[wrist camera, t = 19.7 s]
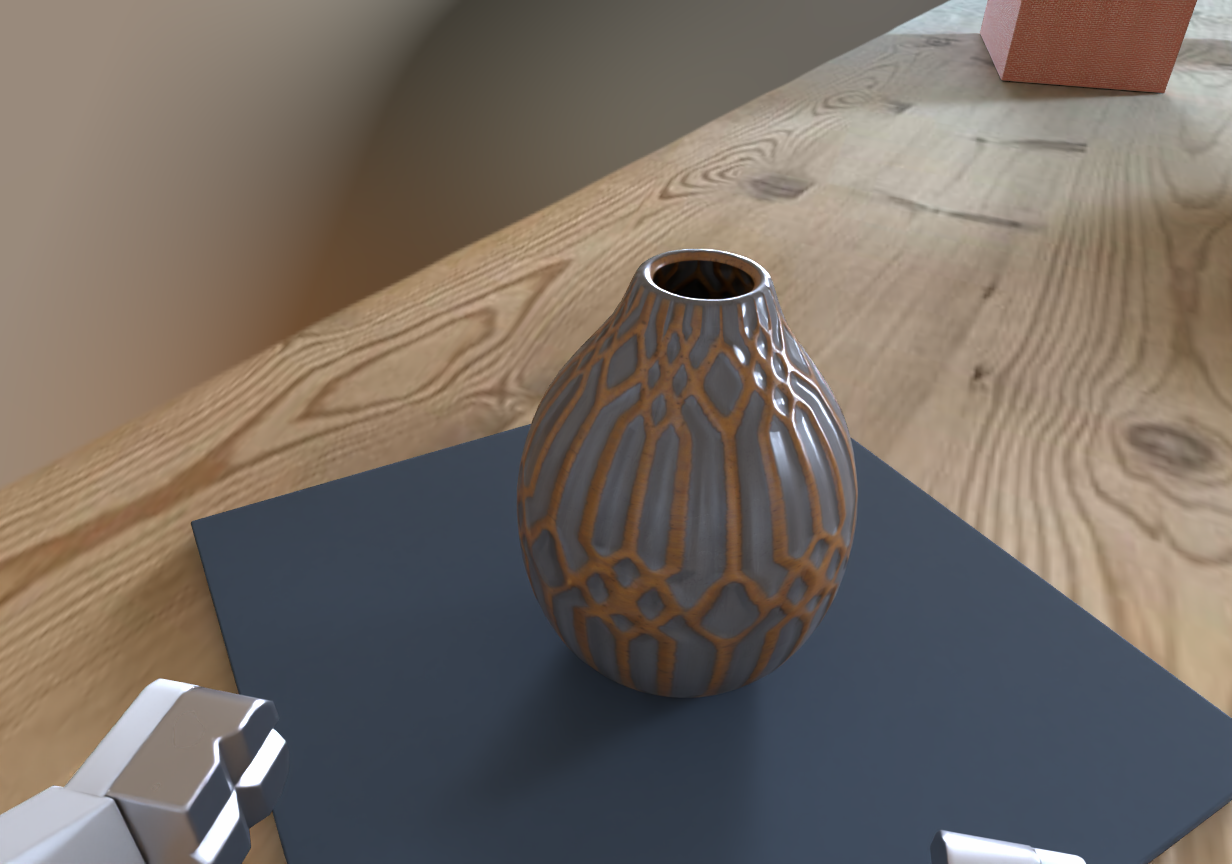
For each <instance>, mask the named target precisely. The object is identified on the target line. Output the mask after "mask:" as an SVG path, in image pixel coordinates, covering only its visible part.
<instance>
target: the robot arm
mask: <svg viewBox="0 0 1232 864" xmlns="http://www.w3.org/2000/svg"><path fill="white" fill-rule="evenodd" d="M278 719H279V716H278V714H277V711H276V708H275V705H274V703H273V701H268V700H264V699H259V698H254V697H249V696H244V695H239V694H234V693H229V692H224V691H219V690H214V689H209V688H204V687H200V686H198V685H192V684H187V683H182V682H176V681H171V680H166V679H161V678H159V679H157V680H156V681H154V682H153V683H151V684H150V685H148V686H147V687H145V688H144V689H143V690H142V692H141V693H140V694H139V695H138V697H137V698H136V699H135V700H134V701H133V703H132V704H131V705H130V706H129V708H128V709H127V710H126V711H125V713H124V714H123V715H122V716H121V717H120V719H119V720H118V721H117V722H116V724H115V725H114V726H113V727H112V729H111V730H110V731H109V732H108V734H107V735H106V736H105V737H104V738H103V740H102V741H101V742H100V743H99V745H98V746H97V747H96V748H95V750H94V751H93V752H92V753H91V754H90V756H89V757H88V758H87V759H86V761H85V762H84V763H83V764H82V766H81V767H80V768H79V769H78V771H77V772H76V773H75V774H74V775H73V777H72V778H71V779H70V780H69V782H68V783H67V784H66V785H65V787H60V786H54V785H53V786H51V787H49V788H48V789H46V790H44V791H42V792H41V793H39V794H37V795H35V796H33V797H32V798H30V799H28V800H26V801H25V802H23V803H21V804H19V805H17V806H16V807H14V808H12V809H10V810H9V811H7V812H5V813H3V814H1V815H0V864H242V862H243V860H244V859H245V857H246V855H247V854H248V852H249V850H250V848H251V843H250V833H249V828H251V827H252V826H254V825H255V824H257V823H258V822H260V821H261V820H263V819H264V818H266V817H267V816H269V815H270V814H271V812H272V810H273V808H274V806H275V804H276V803H277V801H278V799H279V797H280V795H281V794H282V790H283V787H284V784H285V781H286V777H287V774H288V771H289V751H288V747H287V743H286V741H285V740H284V739H283V738H282V737H281V736H280V735H279V734H278V733H277V732H276V731H275V730H274V729H273V728H274V726H275V724H276V723H277V721H278ZM930 851H931V864H1086V863H1085V861H1084V860H1083V859H1082V858H1080V857H1079V856H1077V855H1071V854H1065V853H1060V852H1054V851H1048V850H1043V849H1037V848H1032V847H1030V846H1028V845H1023V844H1017V843H1011V842H1006V841H1000V840H994V839H989V838H983V837H977V836H972V835H966V834H960V833H955V832H949V831H943V830H940V831H939V832H937V833H936V834H935V836H934V838H933V841H932V843H931V846H930Z"/></svg>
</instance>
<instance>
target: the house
mask: <svg viewBox="0 0 1232 864" xmlns="http://www.w3.org/2000/svg"><path fill="white" fill-rule="evenodd" d="M1196 2H1197V0H988V1H987V5H986V10H985V14H984V18H983V22H982V27H981V31H980V34H981V36H982V39H983V41H984V43H985V45H986V47H987V50H988V52H989V54H990V56H991V58H992V61H993V63H994V65H995V67H996V69H997V72H998V74H999V76H1000V78H1001V80H1004V81H1016V82H1029V83H1042V84H1055V85H1067V86H1080V87H1093V88H1105V89H1118V90H1131V91H1143V92H1156V93H1164V92H1165V89H1166V86H1167V84H1168V81H1169V78H1170V75H1171V72H1172V70H1173V67H1174V64H1175V61H1176V58H1177V55H1178V53H1179V50H1180V47H1181V44H1182V41H1183V39H1184V36H1185V33H1186V30H1187V27H1188V24H1189V22H1190V19H1191V16H1192V13H1193V10H1194V7H1195V5H1196Z"/></svg>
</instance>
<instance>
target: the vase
mask: <svg viewBox="0 0 1232 864" xmlns="http://www.w3.org/2000/svg"><path fill="white" fill-rule="evenodd" d="M857 506H858V488H857V474H856V466H855V459H854V452H853V447H852V443H851V438H850V434H849V430H848V427H847V424H846V421H845V418H844V415H843V413H842V410H841V408H840V406H839V404H838V402H837V400H836V398H835V396H834V394H833V392H832V390H831V389H830V387H829V385H828V384H827V382H826V381H825V379H824V377H823V376H822V374H821V373H820V371H819V370H818V368H817V367H816V365H815V364H814V363H813V361H812V360H811V358H810V357H809V355H808V354H807V352H806V351H805V349H804V348H803V347H802V345H801V344H800V342H799V341H798V340H797V338H796V337H795V335H794V334H793V332H792V331H791V329H790V328H789V326H788V324H787V322H786V320H785V317H784V315H783V313H782V310H781V307H780V304H779V301H778V298H777V294H776V291H775V288H774V285H773V282H772V279H771V277H770V275H769V274H768V273H767V271H766V270H765V269H764V268H762V267H761V266H760V265H758V264H757V263H755V262H753V261H751V260H749V259H747V258H744V257H742V256H739V255H736V254H732V253H728V252H723V251H717V250H708V249H684V250H675V251H670V252H666V253H662V254H659V255H656V256H654V257H652V258H650V259H648V260H646V261H645V262H644V263H642V264H641V265H640V267H639V268H638V269H637V271H636V273H635V274H634V276H633V278H632V280H631V282H630V285H629V287H628V289H627V291H626V293H625V295H624V296H623V298H622V300H621V302H620V303H619V305H618V306H617V308H616V309H615V311H614V312H613V314H612V315H611V316H610V317H609V318H608V319H607V320H606V321H605V322H604V323H603V324H602V325H601V326H600V327H599V328H598V330H597V331H596V332H595V333H594V334H593V335H592V336H591V337H590V338H589V339H588V340H587V341H586V342H585V343H584V344H583V345H582V346H581V348H580V349H579V350H578V351H577V352H576V353H575V354H574V355H573V356H572V357H571V358H570V360H569V361H568V362H567V363H566V364H565V365H564V366H563V368H562V369H561V370H560V371H559V373H558V374H557V375H556V377H555V378H554V380H553V381H552V383H551V384H550V385H549V387H548V389H547V390H546V392H545V394H544V396H543V398H542V400H541V402H540V404H539V406H538V408H537V411H536V413H535V416H534V418H533V421H532V423H531V426H530V429H529V432H528V435H527V439H526V442H525V446H524V450H523V454H522V458H521V462H520V469H519V476H518V484H517V520H518V531H519V539H520V546H521V552H522V557H523V562H524V566H525V570H526V573H527V575H528V578H529V581H530V584H531V587H532V590H533V592H534V595H535V597H536V599H537V601H538V603H539V605H540V607H541V609H542V611H543V613H544V615H545V617H546V618H547V620H548V621H549V623H550V625H551V626H552V627H553V629H554V630H555V631H556V633H557V634H558V635H559V637H560V638H561V639H562V641H563V642H564V643H565V644H566V646H567V647H568V648H569V649H570V650H571V651H572V652H573V653H574V654H575V655H576V656H577V657H579V658H580V659H581V660H582V661H584V662H585V663H586V664H588V665H589V666H591V667H592V668H594V669H595V670H596V671H598V672H599V673H601V674H602V675H604V676H606V677H608V678H609V679H611V680H613V681H615V682H617V683H619V684H621V685H624V686H626V687H629V688H631V689H634V690H637V691H641V692H645V693H648V694H653V695H659V696H666V697H677V698H693V697H705V696H712V695H717V694H721V693H725V692H729V691H732V690H735V689H738V688H740V687H743V686H745V685H748V684H750V683H752V682H755V681H757V680H759V679H761V678H763V677H765V676H767V675H768V674H770V673H771V672H773V671H774V670H776V669H777V668H778V667H780V666H781V665H782V664H783V663H784V662H786V661H787V660H788V659H789V658H790V657H791V656H792V655H793V654H794V653H795V652H796V651H798V650H799V649H800V648H801V647H802V645H803V644H804V643H805V642H806V641H807V639H808V638H809V637H810V636H811V634H812V633H813V632H814V630H815V629H816V628H817V626H818V625H819V624H820V622H821V621H822V619H823V618H824V616H825V614H826V612H827V611H828V609H829V607H830V605H831V604H832V602H833V600H834V598H835V596H836V594H837V591H838V589H839V586H840V584H841V581H842V578H843V575H844V573H845V570H846V566H847V563H848V559H849V555H850V551H851V548H852V544H853V539H854V533H855V527H856V521H857Z"/></svg>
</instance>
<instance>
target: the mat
mask: <svg viewBox="0 0 1232 864" xmlns="http://www.w3.org/2000/svg"><path fill="white" fill-rule="evenodd" d="M530 426H531V424H529V425H525V426H522V427H518V428H515V429H511V430H508V431H504V432H501V433H497V434H494V435H491V436H487V437H484V438H480V439H477V440H473V441H470V442H466V443H463V444H459V445H456V446H452V447H449V448H445V449H442V450H438V451H435V452H431V453H428V454H424V455H421V456H417V457H414V458H411V459H407V460H404V461H400V462H397V463H393V464H390V465H386V466H383V467H379V468H376V469H372V470H369V471H365V472H362V473H358V474H355V475H351V476H348V477H344V478H341V479H337V480H334V481H330V482H327V483H324V484H320V485H317V486H313V487H310V488H306V489H303V490H299V491H296V492H292V493H289V494H285V495H282V496H278V497H275V498H271V499H268V500H264V501H261V502H257V503H254V504H250V505H247V506H244V507H240V508H237V509H233V510H230V511H226V512H223V513H219V514H216V515H212V516H209V517H205V518H202V519H198V520H195V521H192V522H191V526H192V529H193V533H194V537H195V540H196V544H197V547H198V551H199V554H200V558H201V561H202V565H203V568H204V572H205V575H206V579H207V583H208V586H209V590H210V593H211V597H212V600H213V604H214V607H215V611H216V614H217V618H218V621H219V625H220V629H221V632H222V636H223V639H224V643H225V646H226V650H227V653H228V657H229V660H230V664H231V667H232V671H233V674H234V678H235V682H236V685H237V689H238V692H239V695H244V696H249V697H254V698H259V699H264V700H268V701H273V703H274V705H275V708H276V711H277V714H278V716H279V719H278V721H277V723H276V724H275V726H274V728H273V729H274V730H275V731H276V732H277V733H278V734H279V735H280V736H281V737H282V738H283V739H284V740H285V741H286V743H287V747H288V751H289V771H288V774H287V777H286V781H285V784H284V787H283V790H282V794H281V795H280V797H279V799H278V801H277V803H276V804H275V806H274V808H273V810H272V812H273V816H274V819H275V823H276V827H277V830H278V834H279V837H280V841H281V844H282V848H283V851H284V855H285V858H286V862H287V864H931V851H930V846H931V843H932V841H933V838H934V836H935V834H936V833H937V832H939V831H940V830H943V831H949V832H955V833H960V834H966V835H972V836H977V837H983V838H989V839H994V840H1000V841H1006V842H1011V843H1017V844H1023V845H1028V846H1030V847H1032V848H1037V849H1043V850H1048V851H1054V852H1060V853H1065V854H1071V855H1077V856H1079V857H1080V858H1082V859H1083V860H1084V861H1085V863H1086V864H1148V863H1150V862H1151V861H1152V860H1153V859H1155V858H1156V857H1157V856H1159V855H1160V854H1161V853H1163V852H1164V851H1165V850H1167V849H1168V848H1169V847H1171V846H1172V845H1173V844H1175V843H1176V842H1177V841H1179V840H1180V839H1181V838H1183V837H1184V836H1185V835H1186V834H1188V833H1189V832H1190V831H1192V830H1193V829H1194V828H1196V827H1197V826H1198V825H1200V824H1201V823H1202V822H1204V821H1205V820H1206V819H1208V818H1209V817H1210V816H1212V815H1213V814H1214V813H1216V812H1217V811H1218V810H1219V809H1221V808H1222V807H1223V806H1225V805H1226V804H1227V803H1229V802H1230V801H1231V800H1232V718H1230V717H1229V716H1228V715H1226V714H1225V713H1224V712H1222V711H1221V710H1220V709H1218V708H1217V707H1216V706H1214V705H1213V704H1211V703H1210V702H1209V701H1207V700H1206V699H1205V698H1203V697H1202V696H1201V695H1199V694H1198V693H1197V692H1195V691H1194V690H1193V689H1191V688H1190V687H1188V686H1187V685H1186V684H1184V683H1183V682H1182V681H1180V680H1179V679H1178V678H1176V677H1175V676H1174V675H1172V674H1171V673H1169V672H1168V671H1167V670H1165V669H1164V668H1163V667H1161V666H1160V665H1159V664H1157V663H1156V662H1155V661H1153V660H1152V659H1150V658H1149V657H1148V656H1146V655H1145V654H1144V653H1142V652H1141V651H1140V650H1138V649H1137V648H1136V647H1134V646H1133V645H1132V644H1130V643H1129V642H1127V641H1126V640H1125V639H1123V638H1122V637H1121V636H1119V635H1118V634H1117V633H1115V632H1114V631H1113V630H1111V629H1110V628H1108V627H1107V626H1106V625H1104V624H1103V623H1102V622H1100V621H1099V620H1098V619H1096V618H1095V617H1094V616H1092V615H1091V614H1089V613H1088V612H1087V611H1085V610H1084V609H1083V608H1081V607H1080V606H1079V605H1077V604H1076V603H1075V602H1073V601H1072V600H1071V599H1069V598H1068V597H1066V596H1065V595H1064V594H1062V593H1061V592H1060V591H1058V590H1057V589H1056V588H1054V587H1053V586H1052V585H1050V584H1049V583H1047V582H1046V581H1045V580H1043V579H1042V578H1041V577H1039V576H1038V575H1037V574H1035V573H1034V572H1033V571H1031V570H1030V569H1028V568H1027V567H1026V566H1024V565H1023V564H1022V563H1020V562H1019V561H1018V560H1016V559H1015V558H1014V557H1012V556H1011V555H1010V554H1008V553H1007V552H1005V551H1004V550H1003V549H1001V548H1000V547H999V546H997V545H996V544H995V543H993V542H992V541H991V540H989V539H988V538H986V537H985V536H984V535H982V534H981V533H980V532H978V531H977V530H976V529H974V528H973V527H972V526H970V525H969V524H967V523H966V522H965V521H963V520H962V519H961V518H959V517H958V516H957V515H955V514H954V513H953V512H951V511H950V510H949V509H947V508H946V507H944V506H943V505H942V504H940V503H939V502H938V501H936V500H935V499H934V498H932V497H931V496H930V495H928V494H927V493H925V492H924V491H923V490H921V489H920V488H919V487H917V486H916V485H915V484H913V483H912V482H911V481H909V480H908V479H906V478H905V477H904V476H902V475H901V474H900V473H898V472H897V471H896V470H894V469H893V468H892V467H890V466H889V465H888V464H886V463H885V462H883V461H882V460H881V459H879V458H878V457H877V456H875V455H874V454H873V453H871V452H870V451H869V450H867V449H866V448H864V447H863V446H862V445H860V444H859V443H858V442H856V441H855V440H854V439H852V438H851V437H850V438H851V443H852V447H853V452H854V459H855V466H856V474H857V488H858V506H857V521H856V527H855V533H854V539H853V544H852V548H851V551H850V555H849V559H848V563H847V566H846V570H845V573H844V575H843V578H842V581H841V584H840V586H839V589H838V591H837V594H836V596H835V598H834V600H833V602H832V604H831V605H830V607H829V609H828V611H827V612H826V614H825V616H824V618H823V619H822V621H821V622H820V624H819V625H818V626H817V628H816V629H815V630H814V632H813V633H812V634H811V636H810V637H809V638H808V639H807V641H806V642H805V643H804V644H803V645H802V647H801V648H800V649H799V650H798V651H796V652H795V653H794V654H793V655H792V656H791V657H790V658H789V659H788V660H787V661H786V662H784V663H783V664H782V665H781V666H780V667H778V668H777V669H776V670H774V671H773V672H771V673H770V674H768V675H767V676H765V677H763V678H761V679H759V680H757V681H755V682H752V683H750V684H748V685H745V686H743V687H740V688H738V689H735V690H732V691H729V692H725V693H721V694H717V695H712V696H705V697H693V698H677V697H666V696H659V695H653V694H648V693H645V692H641V691H637V690H634V689H631V688H629V687H626V686H624V685H621V684H619V683H617V682H615V681H613V680H611V679H609V678H608V677H606V676H604V675H602V674H601V673H599V672H598V671H596V670H595V669H594V668H592V667H591V666H589V665H588V664H586V663H585V662H584V661H582V660H581V659H580V658H579V657H577V656H576V655H575V654H574V653H573V652H572V651H571V650H570V649H569V648H568V647H567V646H566V644H565V643H564V642H563V641H562V639H561V638H560V637H559V635H558V634H557V633H556V631H555V630H554V629H553V627H552V626H551V625H550V623H549V621H548V620H547V618H546V617H545V615H544V613H543V611H542V609H541V607H540V605H539V603H538V601H537V599H536V597H535V595H534V592H533V590H532V587H531V584H530V581H529V578H528V575H527V573H526V570H525V566H524V562H523V557H522V552H521V546H520V539H519V531H518V520H517V484H518V476H519V469H520V462H521V458H522V454H523V450H524V446H525V442H526V439H527V435H528V432H529V429H530Z"/></svg>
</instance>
